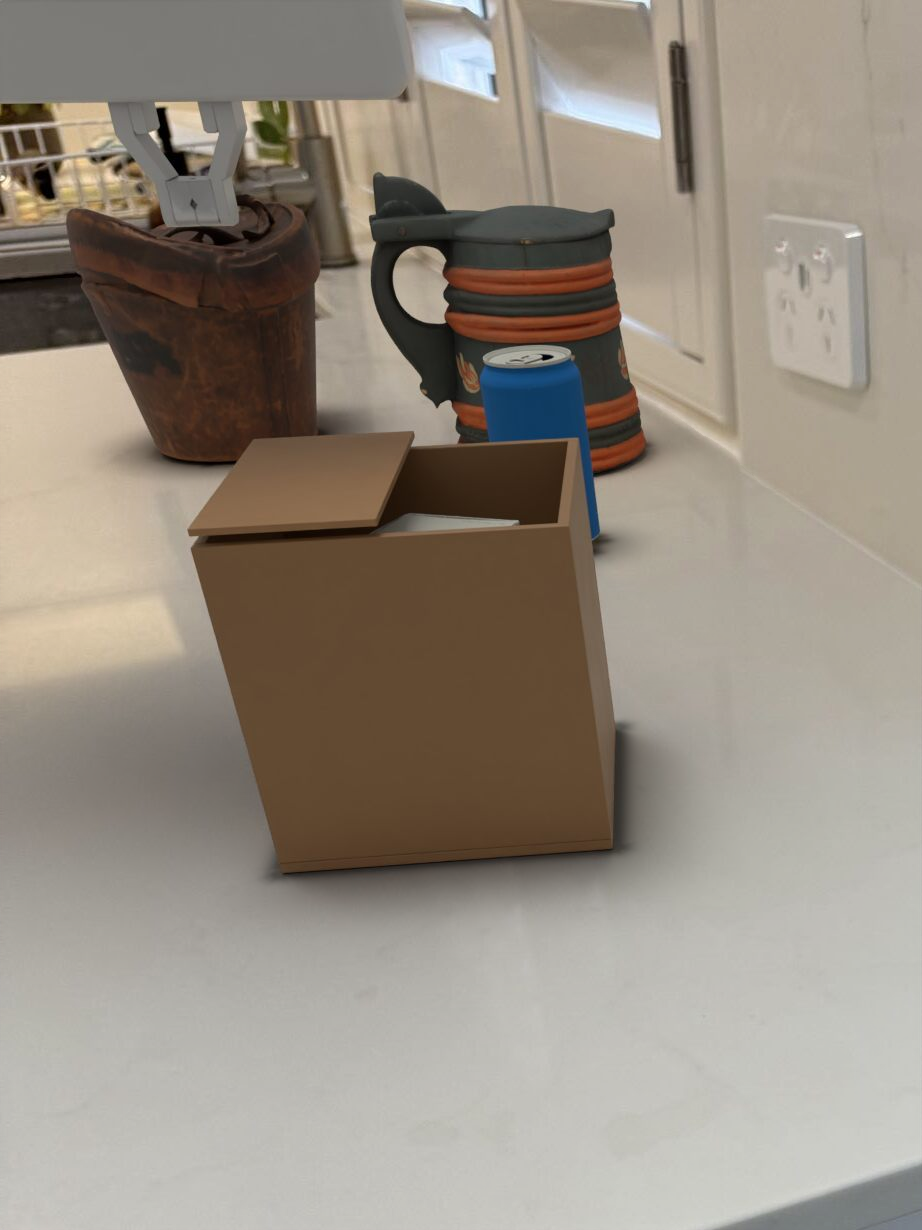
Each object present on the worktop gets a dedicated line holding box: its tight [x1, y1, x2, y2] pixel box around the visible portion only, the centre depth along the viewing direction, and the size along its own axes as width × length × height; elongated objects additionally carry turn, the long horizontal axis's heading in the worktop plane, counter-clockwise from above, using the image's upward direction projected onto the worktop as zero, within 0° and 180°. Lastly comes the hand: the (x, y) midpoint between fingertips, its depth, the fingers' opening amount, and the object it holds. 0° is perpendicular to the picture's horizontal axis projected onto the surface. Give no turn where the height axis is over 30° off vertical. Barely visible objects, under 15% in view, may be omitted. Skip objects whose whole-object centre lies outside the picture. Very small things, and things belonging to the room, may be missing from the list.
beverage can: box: [480, 345, 601, 541], centre depth 105 cm, size 6×6×12 cm
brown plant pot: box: [65, 193, 321, 463], centre depth 127 cm, size 18×20×18 cm
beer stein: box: [368, 171, 647, 475], centre depth 120 cm, size 19×15×20 cm
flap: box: [187, 430, 416, 538], centre depth 68 cm, size 7×14×1 cm, turn 7°
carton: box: [190, 438, 617, 874], centre depth 73 cm, size 15×14×14 cm
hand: (203, 225), depth 70 cm, fingers closed
